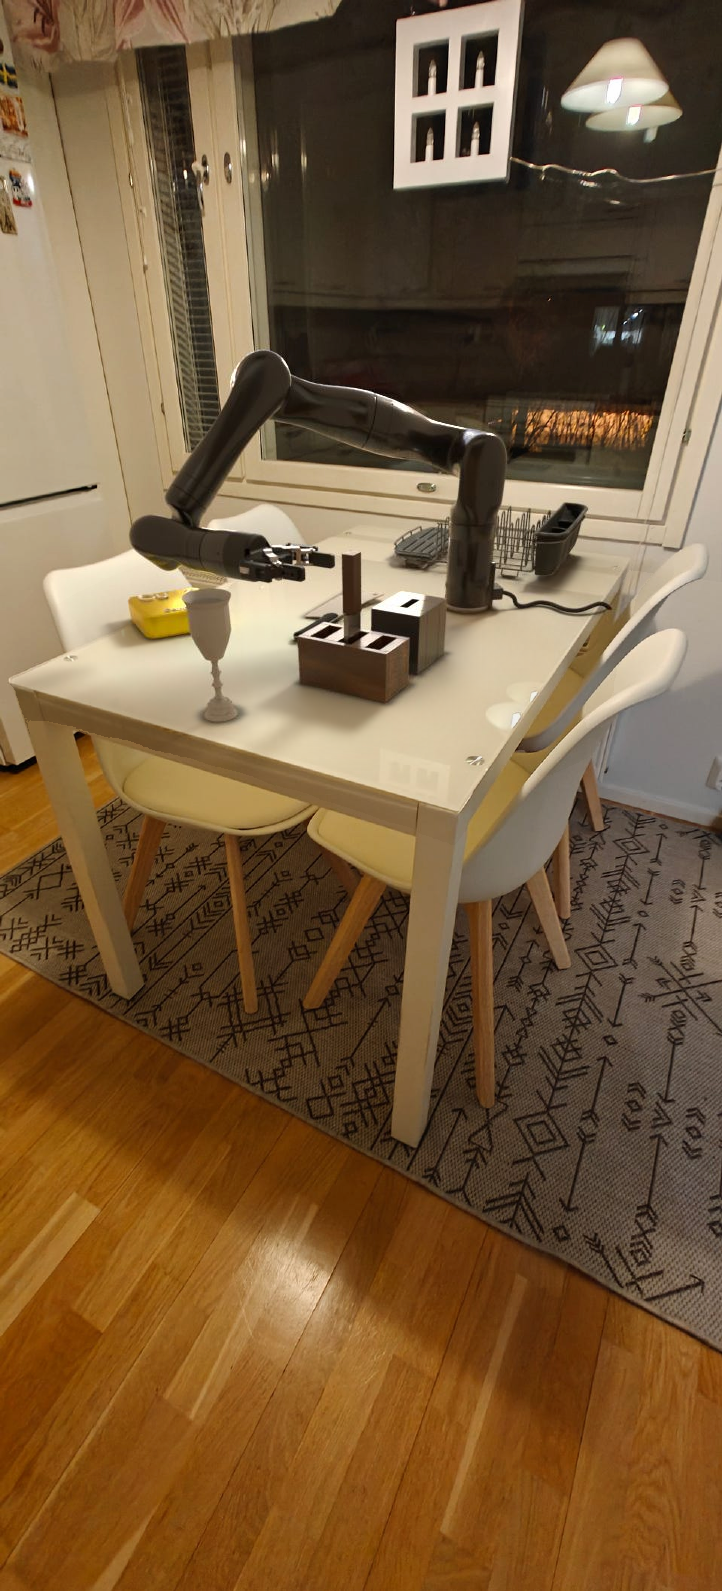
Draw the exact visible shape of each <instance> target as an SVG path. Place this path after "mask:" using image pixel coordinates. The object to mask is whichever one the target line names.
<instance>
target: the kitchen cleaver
mask: <svg viewBox="0 0 722 1591" xmlns="http://www.w3.org/2000/svg"><path fill="white" fill-rule="evenodd" d="M383 596H385V593H384V592H379V591H378V592H377V591H361V606H362V605H364V604H366V603H368V602H371V601H374V600H375V599H379V598H380V597H383ZM344 615H345V614H344V613H343V596H342V593H341V594H339V595H337V596H336V597H334V598H332V599H331V600H329V601H327V602H325V603H324V604H322V605H321V606H319V607H317V608H315V609H314V610H312V611H310V612H309V613H307V614H306V615H305V617H306V618H319V619H317V620H316V621H313V622H312V623H310V624H308V625H307V626H305V627H303V628H301V629H300V630H298V631H295V632H294V633H293V634H292V636H293V639H294V640H295V641H297V642H298V640H297V636H299V635H301V634H303V633H305V632H306V631H308V630H310V629H312V628H314V627H316V626H317V625H319V624H321V623H323V622H327V623H333V624H334V623H335V622H337V621H338V620H339V619H340V617H342V616H344Z"/></svg>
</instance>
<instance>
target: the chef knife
mask: <svg viewBox="0 0 722 1591" xmlns="http://www.w3.org/2000/svg"><path fill="white" fill-rule="evenodd" d="M341 581H342V582H341V583H342V584H341V586H342V588H341V589H342V590H341V592H342V593H341V594H342V596H343V613H344V614H343V626H344V643H345V644H350V645H351V644H353V643H354V642H356V641H358V640H359V639H361V629H362V628H361V627H362V625H361V624H362V623H361V622H362V615H361V614H362V613H361V612H362V605H361V592H362V551H358V550H347V551H345V552H343V553H341Z"/></svg>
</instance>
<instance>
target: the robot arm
mask: <svg viewBox="0 0 722 1591" xmlns="http://www.w3.org/2000/svg"><path fill="white" fill-rule="evenodd" d="M229 387H230V392H229V394H228V397H227V399H226V400H225V403H224V405H223V407H222V409H221V410H220V412H219V414H218V415H217V417H216V419H215V420H214V422H213V424H212V425H211V426H210V428H209V429H208V430H207V432H206V433H205V435H204V436H203V437H202V439H201V440H200V441H199V443H197V445H196V446H195V448H194V449H193V450H192V452H191V453H190V455H189V456H188V457H187V459H186V460H185V462H184V463H183V464H182V466H181V468H180V469H179V471H178V472H177V474H176V475H175V477H174V479H173V480H172V482H171V484H170V485H169V486H168V488H167V490H166V492H165V494H164V502H165V503H166V505H167V507H169V509H170V511H171V517H166V516H164V515H159V514H146V515H142V516H140V517H138V518H137V519H136V520H135V521H134V522H133V523H132V524H131V526H130V527H129V531H128V538H129V543H130V545H131V547H132V548H133V550H134V551H135V552H136V553H137V554H138V555H140V556H141V557H143V558H144V559H146V560H147V561H149V562H150V563H152V564H153V565H154V566H156V567H157V568H159V569H160V570H162V571H165V572H173V571H176V570H178V569H179V568H181V567H182V566H183V567H185V568H187V569H189V570H192V571H196V572H200V573H201V572H202V573H207V574H213V575H216V576H218V577H221V578H228V579H233V580H239V581H244V582H250V583H258V582H262V583H266V584H271V583H273V580H275V581H279V582H280V581H283V580H287V581H292V582H297V583H302V582H305V581H306V568H305V567H316V568H317V567H318V568H323V569H334V568H335V566H336V556H335V554H334V553H331V552H324V551H319V546H318V545H311V544H302V543H293V542H287V543H285V546H283V545H282V544H274V545H272V546H271V544H270V543H269V541H268V539H267V538H266V537H265V535H263V534H261V533H257V532H250V531H243V530H242V531H241V530H235V529H227V528H225V529H224V528H220V529H216V528H215V529H214V528H209V527H201V526H200V525H201V522H202V520H203V517H204V516H205V514H206V513H207V511H208V510H209V508H210V506H211V505H212V503H213V502H214V500H215V498H216V497H217V495H218V494H219V492H220V490H221V489H222V488H223V486H224V484H225V482H226V481H227V479H228V477H229V475H230V474H231V472H232V471H233V469H234V467H235V466H236V464H237V463H238V460H239V458H241V455H242V454H243V453H244V451H245V449H246V448H247V446H248V445H249V444H250V442H251V441H252V439H253V438H255V435H256V434H258V432H259V431H260V429H261V428H262V427H263V426H264V424H266V422H268V421H273V422H277V423H282V424H283V423H284V424H288V425H292V426H297V427H301V428H305V429H308V430H309V431H313V432H315V433H318V434H320V435H323V436H325V437H327V438H329V439H332V440H335V441H338V442H340V443H343V444H346V445H349V446H351V447H354V448H357V449H360V450H363V451H366V452H369V453H372V454H376V455H380V456H384V457H389V458H392V459H393V458H394V459H401V460H411V461H418V462H422V463H425V464H428V465H430V466H433V467H435V468H437V469H440V470H441V471H444V472H445V473H447V474H450V475H452V476H453V477H455V478H457V479H458V488H457V489H458V490H457V498H456V501H455V502H454V503H453V504H452V505H451V506H450V509H449V518H450V521H449V539H448V547H447V550H448V551H447V556H446V557H447V558H446V561H447V563H446V575H445V576H446V577H445V583H444V584H445V585H444V587H445V594H444V598H447V610H449V611H452V612H455V613H462V614H477V613H483V612H485V611H487V610H493V602H494V601H500V600H503V597H504V596H507V597H509V598H510V599H511V600H512V603H513V606H514V607H516V608H518V609H528V608H531V607H534V606H535V607H536V606H548V607H551V608H554V609H556V610H558V611H561V612H564V613H571V614H579V613H583V612H587V611H589V610H591V609H594V608H596V607H597V608H598V607H603V608H604V609H605V610H607V611H612V610H613V607H612V606H611V605H610V604H609V603H607V602H605V601H594V602H592V603H590V604H588V605H585V606H581V607H576V608H572V607H566V606H563V605H560V604H558V603H556V602H553V601H548V600H543V599H539V600H533V601H530V602H527V603H519V601H518V599H517V596H516V595H515V594H514V593H513V592H510V591H508V590H505V589H504V587H502V585H500V584H499V583H498V582H495V581H496V570H497V569H496V567H497V564H496V563H497V562H496V561H494V557H493V556H494V554H495V553H494V552H495V550H494V549H495V544H494V543H496V537H495V532H496V521H497V522H498V518H497V514H498V513H499V512H500V509H501V506H502V503H503V499H504V491H505V483H506V476H507V467H508V452H507V448H506V445H505V443H504V441H503V440H502V439H501V437H499V436H498V435H497V434H494V433H492V432H488V431H484V430H481V429H477V428H467V427H462V426H456V425H453V424H448V423H444V422H440V421H437V420H434V419H431V418H429V417H427V416H425V415H424V414H422V413H420V412H419V411H417V410H415V409H413V408H411V407H410V406H408V405H406V404H404V403H401V402H399V401H397V400H395V399H392V398H389V397H387V396H384V395H381V394H378V393H375V392H372V391H369V390H364V389H362V388H361V389H360V388H355V387H348V386H339V385H328V384H321V383H315V382H311V381H308V380H305V379H302V378H301V377H298V376H295V375H293V374H291V372H290V369H289V366H288V365H287V363H286V361H285V360H284V358H283V357H282V356H281V355H279V354H278V353H276V352H274V351H272V350H268V349H258V350H253V351H252V352H250V353H247V355H245V356H243V358H242V359H241V360H240V361H239V363H238V364H237V365H236V367H235V368H234V370H233V372H232V374H231V378H230V386H229ZM498 515H499V514H498ZM294 561H295V563H294Z"/></svg>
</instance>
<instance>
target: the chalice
mask: <svg viewBox="0 0 722 1591" xmlns="http://www.w3.org/2000/svg"><path fill="white" fill-rule="evenodd" d="M231 597H232V593H231V592H230V591H229V590H226V589H223V588H216V587H215V588H214V587H213V588H209V587H207V588H198V590H193V591H190V592H187V593H185V594H184V595H183V596H182V597H181V598H182V601H183V602H184V604H185V605H186V608H187V615H188V622H189V629H190V633H189V634H190V636H191V638H192V640H193V642H194V644H195V646H196V648H197V649H198V651H199V653H200V654H201V655H202V657H203V658H204V660H205V661H209V662H210V663H211V671H210V675H211V676H212V679H213V680H212V683H211V687H213V689H214V693H215V694H214V696H213V697H212V698H210V699H209V700H208V702H207V706H206V708H205V712H204V714H203V716H204V718H205V720H207V721H210V722H214V723H215V722H217V723H221V722H227V721H230V720H233V719H234V718H236V717H237V716H238V714H239V712H238V710H237V709H236V707H235V705H234V704H233V701H232V700H231V699H230V698H229V697H227V696H224V695H223V692H222V687H223V685H224V683H223V681H221V679H220V677H221V674H222V670H221V669H220V667H219V661H220V660H222V659H223V658H224V656H225V653H226V651H227V648H228V645H229V642H230V637H231V632H232V623H231V614H230V606H229V605H230V604H229V603H230V600H231Z"/></svg>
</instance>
